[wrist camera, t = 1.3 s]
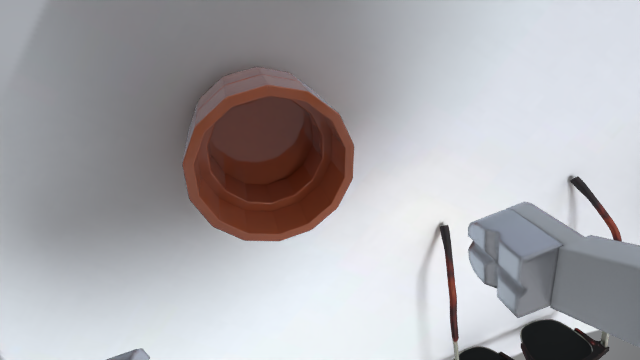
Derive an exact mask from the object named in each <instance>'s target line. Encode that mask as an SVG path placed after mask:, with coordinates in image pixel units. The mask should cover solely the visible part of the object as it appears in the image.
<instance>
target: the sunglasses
mask: <svg viewBox="0 0 640 360" xmlns="http://www.w3.org/2000/svg"><path fill="white" fill-rule="evenodd" d="M571 183H572V184H573V185H574V186H575V187H576V188H577V189H578V190H579V191H580V192H581V193H582V194H583V195H585V196H586V197H587V199H588V200H589V201H590V202H591V203H592V205H593V206H594V207H595V209H596V210H597V211H598V213H599V214H600V215H601V217H602V218H603V219H604V221H605V222H606V224H607V225H608V227H609V229H610V230H611V233H612V235H613V239H614V240H616V241H620V242H622V240H621V236H620V232H619V230H618V228H617V226H616V224H615V223H614V221H613V220H612V218H611V217H610V216H609V214H608V213H607V212H606V210H605V209H604V208H603V206H602V205H601V204H600V202H599V201H598V200H597V198H596V197H595V196H594V194H593V193H592V192H591V191H590V189H589V188H588V187H587V185H586V184H585V183H584V182H583V181H582V180H581V179H580V178H579V177H575V178H573V179H572V180H571ZM440 230H441V236H442V240H443V244H444V249H445V257H446V266H447V277H448V287H449V296H450V323H451V332H452V339H453V344H454V353H455V358H454V359H453V360H514V359H512V358H511V357H509V356H508V355H506V354H504V353H502V352H500V353H497V352H495V351H493V350H491V349H489V348H486V347H482V346H475V347H471V348H468V349H466V350H464V351H462V352H460V353H459V354H458V344H457V340H458V338H459V337H458V326H457V297H456V288H455V279H454V268H453V259H452V249H451V240H450V232H449V227H448V225H444V226H441V227H440ZM520 337H521V342H522V343H521V349H522V351H523V354H524V356H525V358H526V360H598V359H600V358H601V357H602V356H603V355H604V354H606V353H607V352H608V351H609V347H607V345H608V338H609V334H608V333H606V332H604V331H602V336H601V341H595V340H593V339H592V338H590V337H589V336H587V335H586V334H585V333H583V332H582V331H581V330H579V329H578V328H575V329H574V330H573V329H571V328H570V327H568V326H566V325H565V324H563V323H561V322H559V321H556V320H553V319H543V320H537V321H533V322H531V323H528V324H526V325H525V326H523V327H522V329H521V332H520Z"/></svg>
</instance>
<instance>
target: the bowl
mask: <svg viewBox="0 0 640 360" xmlns="http://www.w3.org/2000/svg"><path fill="white" fill-rule="evenodd" d="M353 160H354V144H353V142H352V140H351V137H350V135H349V133H348V131H347V129H346V127H345V125H344V123H343V120H342V118H341V116H340V115H339V113H338V112H337V111H336V110H335V109H333V108H332V107H331V106H330V105H329V104H328V103H327V102H326V101H325V100H324V99H322V98H321V97H320V96H319V95H318V94H317V93H316V92H315V91H314V90H312V89H311V88H310V87H308V86H307V85H306V84H304V83H303V82H302V81H300V80H299V79H298V78H296V77H295V76H294V75H292V74H291V73H289V72H284V71H279V70H273V69H268V68H262V67H257V68H256V67H253V68H250V69H246V70H243V71H239V72H236V73H233V74H229V75H226V76H224V77H222V78H221V79H220V80H219V81H218V82H216V83H215V84H214V85H213V86H212V87H211V88H210V89H209V90H208V91H207V92H206V93H205V94H204V95H203V96H202V97H201V98H200V99H199V101H198V103H197V106H196V109H195V112H194V115H193V118H192V121H191V124H190V127H189V131H188V136H187V142H186V147H185V152H184V157H183V162H182V163H183V164H182V166H183V171H184V175H185V180H186V185H187V190H188V195H189V199H190V201H191V202H192V203H193V204H194V205H195V207H196V208H197V209H198V210H199V211H200V212H201V214H202V215H203V216H204V217H205V218H206V219H207V221H208V222H209V223H210V224H211V225H212V226H213V227H215V228H217V229H219V230H222V231H224V232H226V233H228V234H231V235H233V236H235V237H238V238H240V239H242V240H245V241H282V240H284V239H287V238H290V237H293V236H296V235H298V234H301V233H304V232H307V231H310V230H311V229H313V228H314V227H316V226H317V225H318V224H319V223H320V222H321V221H323V220H324V219H325V218H326V217H327V216H329V215H330V214H331V213H332V212H333V211H334V210H336V209H337V207H338V206H339V204H340V202H341V200H342V198H343V196H344V194H345V192H346V191H347V189H348V187H349V185H350V183H351V181H352V178H353Z"/></svg>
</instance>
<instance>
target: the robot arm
mask: <svg viewBox="0 0 640 360" xmlns="http://www.w3.org/2000/svg"><path fill="white" fill-rule="evenodd" d="M468 236H469V237H470V238H471V239H472V240H473V242H472V244H471V245H470V247H469V249H468V251H469V260H470V263H471V265H472V268H473V270H474V271H475V273H476V274H477V276H478V277H479V278H480V279H481V280H482V282H483V283H484V284H486V285H489V286H492V287H495V288H497V297H498V298H499V299H500V300H501V301H502V302H503V303H504V304H505V305H506V306H507V308H508V309H509V310H510V311H511V312H512V313H513V314H514V315H515V316H516V317H517V318H519V317H522V316H525V315H527V314H530V313H532V312H535V311H537V310H540V309H543V308H545V307H548V306H550V305H551V307H550V308H553V309H555V310H557V311H559V312H562V313H564V314H566V315H568V316H570V317H573V318H575V319H577V320H579V321H581V322H584V323H586V324H588V325H590V326H593V327H595V328H597V329H599V330H601V331H604V332H606V333H608V334H610V335H612V336H615V337H617V338H619V339H621V340H624V341H626V342H628V343H630V344H632V345H635V346H637V347H639V348H640V246H639V245H634V244H630V243H625V242H620V241H616V240H611V239H607V238H602V237H597V236H593V235H590V236H587V237H584V236H582V235H581V234H579V233H578V232H576V231H574V230H573V229H571V228H570V227H568V226H567V225H565V224H563V223H562V222H560V221H559V220H557V219H555V218H554V217H552V216H551V215H549V214H547V213H546V212H544V211H543V210H541V209H539V208H538V207H536V206H535V205H533V204H531V203H528V202H522V203H520V204H517V205H515V206H512V207H510V208H507V209H506V210H502V211H499V212H497V213H494V214H492V215H489V216H486V217H484V218H481V219H479V220H476V221H474V222H471V223H470V225H469V227H468ZM149 359H150V357H149V355H148V354H147V353H146V352H145V351H144V350H143V349H135V350H132V351H129V352H127V353H124V354H121V355H118V356H115V357H112V358H109V359H107V360H149Z"/></svg>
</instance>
